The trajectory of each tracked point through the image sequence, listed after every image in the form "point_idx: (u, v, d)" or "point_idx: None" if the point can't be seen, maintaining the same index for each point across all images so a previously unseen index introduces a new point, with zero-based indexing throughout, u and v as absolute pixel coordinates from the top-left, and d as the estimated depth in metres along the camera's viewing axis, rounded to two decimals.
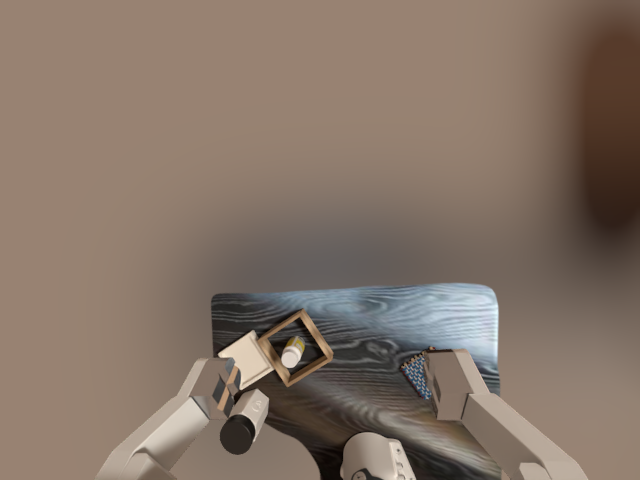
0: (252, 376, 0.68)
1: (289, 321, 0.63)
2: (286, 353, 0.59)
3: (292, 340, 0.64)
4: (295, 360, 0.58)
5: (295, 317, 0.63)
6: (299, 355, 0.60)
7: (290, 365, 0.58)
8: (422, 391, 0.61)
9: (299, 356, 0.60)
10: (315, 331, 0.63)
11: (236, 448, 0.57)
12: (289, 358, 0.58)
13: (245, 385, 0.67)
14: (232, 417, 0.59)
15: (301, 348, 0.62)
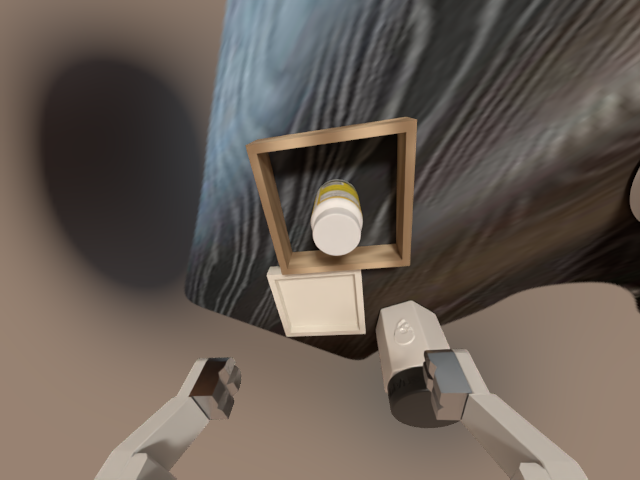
0: (355, 306, 0.34)
1: (261, 187, 0.23)
2: (315, 234, 0.20)
3: (314, 204, 0.24)
4: (345, 220, 0.19)
5: (255, 166, 0.22)
6: (346, 204, 0.20)
7: (352, 239, 0.20)
8: None
9: (348, 205, 0.20)
10: (318, 133, 0.21)
11: None
12: (332, 233, 0.20)
13: (362, 324, 0.34)
14: (389, 391, 0.27)
15: (339, 191, 0.22)
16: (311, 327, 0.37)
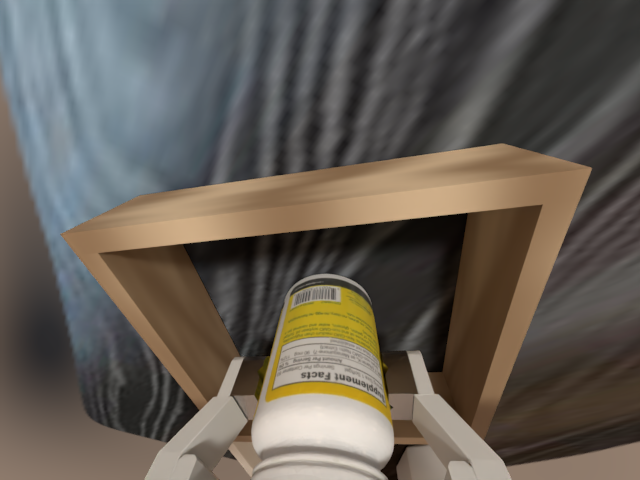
0: None
1: (137, 319, 0.09)
2: None
3: None
4: None
5: (106, 280, 0.08)
6: (347, 423, 0.07)
7: None
8: None
9: (355, 426, 0.07)
10: (265, 198, 0.07)
11: None
12: None
13: None
14: None
15: (328, 343, 0.08)
16: None
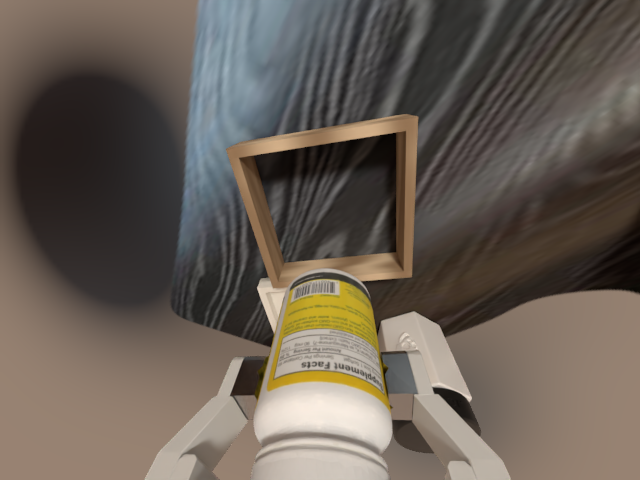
0: None
1: (245, 195, 0.21)
2: None
3: (274, 335, 0.11)
4: None
5: (238, 172, 0.20)
6: (346, 409, 0.07)
7: None
8: None
9: (354, 412, 0.07)
10: (307, 133, 0.19)
11: None
12: None
13: None
14: None
15: (328, 334, 0.09)
16: None
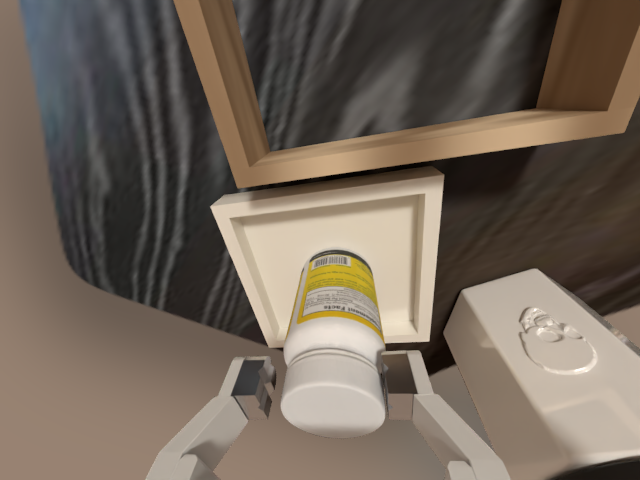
0: (409, 284, 0.16)
1: None
2: (286, 406, 0.09)
3: (296, 294, 0.14)
4: (355, 396, 0.08)
5: None
6: (356, 336, 0.10)
7: (365, 423, 0.09)
8: None
9: (361, 338, 0.10)
10: None
11: None
12: (323, 410, 0.09)
13: (424, 323, 0.16)
14: None
15: (342, 290, 0.11)
16: None
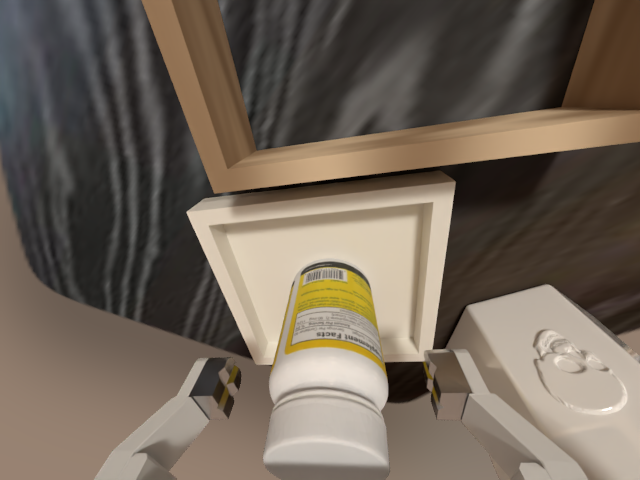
0: (410, 300, 0.15)
1: None
2: (270, 460, 0.07)
3: (285, 313, 0.12)
4: (354, 453, 0.07)
5: None
6: (354, 371, 0.08)
7: (365, 478, 0.08)
8: None
9: (361, 373, 0.08)
10: None
11: None
12: (315, 465, 0.07)
13: (426, 342, 0.15)
14: None
15: (338, 312, 0.10)
16: None
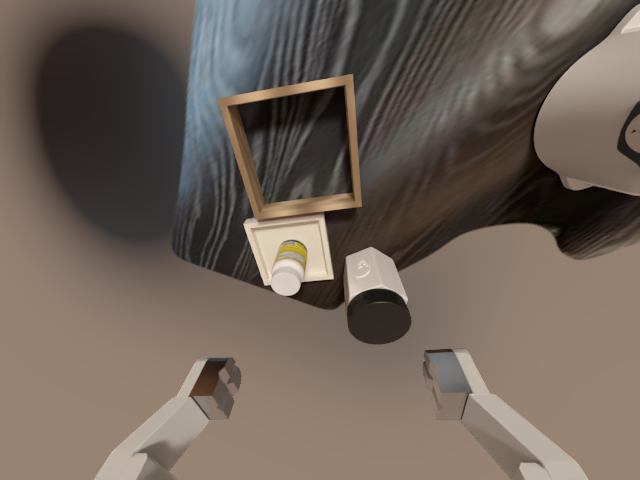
0: (323, 254, 0.39)
1: (232, 136, 0.28)
2: (272, 283, 0.32)
3: (276, 256, 0.36)
4: (290, 276, 0.31)
5: (226, 117, 0.27)
6: (293, 264, 0.33)
7: (295, 287, 0.32)
8: None
9: (294, 264, 0.33)
10: None
11: (396, 330, 0.31)
12: (282, 283, 0.32)
13: (329, 270, 0.39)
14: (347, 313, 0.32)
15: (291, 252, 0.34)
16: None
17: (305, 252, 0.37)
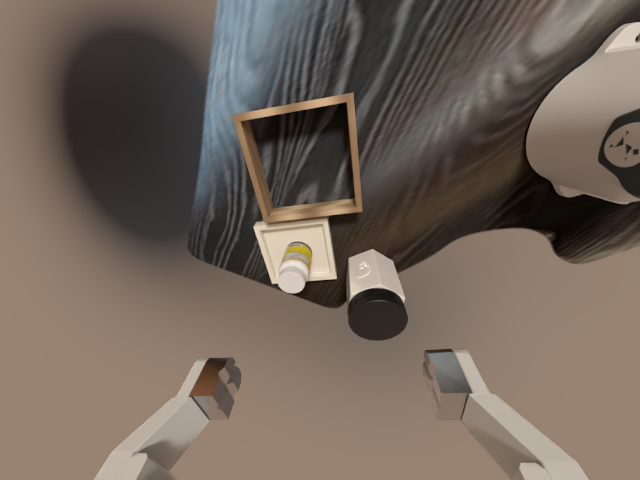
0: (327, 255, 0.42)
1: (244, 148, 0.31)
2: (279, 281, 0.35)
3: None
4: (296, 276, 0.34)
5: (239, 131, 0.30)
6: (298, 264, 0.35)
7: (300, 285, 0.35)
8: None
9: (300, 264, 0.35)
10: None
11: (393, 327, 0.33)
12: (288, 281, 0.35)
13: (332, 270, 0.42)
14: (348, 310, 0.35)
15: (296, 253, 0.37)
16: None
17: (310, 253, 0.40)
